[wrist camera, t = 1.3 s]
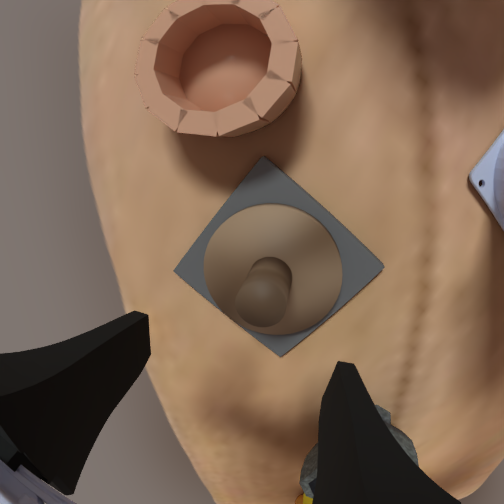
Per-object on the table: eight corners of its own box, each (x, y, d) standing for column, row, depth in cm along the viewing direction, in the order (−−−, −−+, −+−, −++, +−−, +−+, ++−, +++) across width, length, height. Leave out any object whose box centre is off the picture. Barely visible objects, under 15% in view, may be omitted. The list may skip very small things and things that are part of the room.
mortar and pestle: (300, 398, 24) (278, 524, 13) (408, 380, 21) (431, 507, 10) (320, 460, 27) (307, 554, 16) (404, 448, 24) (411, 543, 13)
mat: (382, 263, 18) (384, 267, 18) (281, 352, 22) (280, 356, 22) (264, 156, 18) (262, 156, 17) (176, 267, 22) (173, 271, 21)
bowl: (330, 59, 15) (332, 38, 11) (241, 162, 18) (221, 168, 14) (222, -6, 14) (200, -33, 10) (146, 90, 17) (111, 83, 14)
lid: (369, 267, 18) (381, 303, 14) (279, 346, 21) (269, 390, 17) (263, 173, 17) (246, 184, 13) (185, 271, 21) (155, 303, 17)
